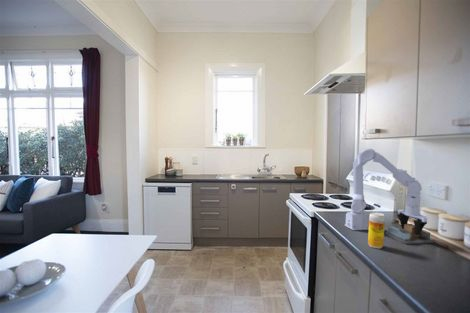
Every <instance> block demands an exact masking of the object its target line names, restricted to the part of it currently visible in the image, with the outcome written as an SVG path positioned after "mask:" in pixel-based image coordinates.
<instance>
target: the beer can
mask: <svg viewBox="0 0 470 313" xmlns="http://www.w3.org/2000/svg"><path fill="white" fill-rule="evenodd" d="M385 223H386V217H385V214H384V213H381V212H377V211H376V212H374V211H372V212H370V213H369V219H368V235H367V244H368V245H369V247H371V248H373V249H382V248H383V247H384V242H385V239H384V238H385Z"/></svg>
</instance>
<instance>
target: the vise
mask: <svg viewBox="0 0 470 313" xmlns="http://www.w3.org/2000/svg"><path fill="white" fill-rule="evenodd" d="M385 236H388V237H390V238H392V239H394V240H396V241H397V242H400V243H402V244H404V245H415V244H417V245H418V244H432V243H433V244H435V239H434V238H433V237H432V238H431V232H429V231H427V230H424V229H422V231H421V233H420V235H419V237H410V239H409V240H404V239H402V238H399V237H397V236H395V235H393V234H391V233H389V232H388V231H385Z"/></svg>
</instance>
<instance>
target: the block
mask: <svg viewBox="0 0 470 313" xmlns="http://www.w3.org/2000/svg"><path fill="white" fill-rule="evenodd" d="M403 231H405V232H407V233H410V237H419V235H416V234H415V224H414V223H407V224H404V229H403Z"/></svg>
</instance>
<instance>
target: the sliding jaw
mask: <svg viewBox="0 0 470 313" xmlns="http://www.w3.org/2000/svg"><path fill="white" fill-rule="evenodd" d="M387 228H388V229H387V232H389V233H391V234H393V235H395V236H397V237H399V238H402V239H404V240H409V239H410V233H407V232H405V231H404V229H400V228H397V227H395V226H393V225H392V226H391V225H390V226H388V227H387Z"/></svg>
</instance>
